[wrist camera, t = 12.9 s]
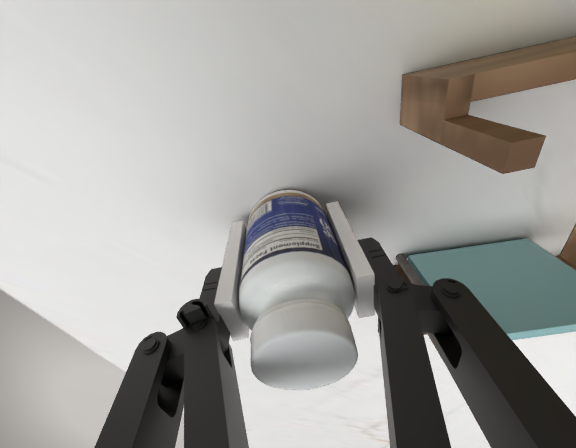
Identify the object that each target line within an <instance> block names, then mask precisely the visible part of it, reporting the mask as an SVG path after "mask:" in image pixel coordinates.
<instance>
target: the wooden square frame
mask: <svg viewBox="0 0 576 448" xmlns="http://www.w3.org/2000/svg"><path fill="white" fill-rule="evenodd" d="M575 79H576V36H575V37H570V38H566V39H561V40H557V41H552V42H547V43H543V44H538V45H534V46H529V47H525V48H520V49H516V50H511V51H507V52H502V53H498V54H493V55H489V56H484V57H480V58H475V59H471V60H466V61H462V62H457V63H453V64H448V65H444V66H439V67H435V68H430V69H426V70H421V71H417V72H412V73H408V74H403V75H402V92H401V112H400V125H402V126H404V127H406V128H408V129H410V130H412V131H414V132H416V133H418V134H420V135H422V136H425V137H427V138H429V139H431V140H433V141H435V142H437V143H439V144H441V145H443V146H446V147H448V148H450V149H452V150H454V151H456V152H458V153H460V154H462V155H464V156H466V157H469V158H471V159H473V160H475V161H477V162H479V163H481V164H483V165H485V166H487V167H489V168H492V169H494V170H496V171H498V172H500V173H502V174H505V173H509V172H514V171H519V170H524V169H529V168H534V167H535V165H536V162H537V159H538V157H539V154H540V151H541V148H542V145H543V143H544V140H545V137H546V136H544V135H541V134H537V133H533V132H529V131H526V130H522V129H518V128H515V127H511V126H507V125H503V124H500V123H496V122H492V121H488V120H485V119H481V118H477V117H474V116H470V115H468V111H469V106H470V102H472V101H477V100H482V99H486V98H491V97H495V96H500V95H505V94H509V93H514V92H519V91H523V90H528V89H533V88H537V87H542V86H547V85H551V84H556V83H561V82H565V81H570V80H575ZM556 258H558V259H559V260H561V261H562V262H564V263H565V264H567V265H568V266H570V267H571V268H573V269H574V270H576V225H575V227H574V229H573V231H572V233H571V235H570V237H569V239H568V241H567V243H566V245H565V247H564V249H563V250H562V252H561V254H560V256H557V257H556ZM396 260H397V261H398V263H399V264H400V265H395V266H394V268H395V270H396V271H397V273H398V274H399V276H400V277H402V278H405V279H406V280H407V281H408V282H409V283H411V284H415V285H424V284H423V283H422V281H421V280H420V278H419V277H418V276H417V274H416V273H415V271H414V270H413V269H412V267H411V266H410V264H409V263H408V261H407V260H406V259H405V257H404V256H403V255H402V254H399V255H397V256H396ZM425 334H428V333H425V332H423V335H425ZM428 336H429V337H430V335H429V334H428ZM430 339H431V337H430ZM431 341H432V339H431ZM432 343H433V341H432ZM433 344H434V343H433ZM434 346H435V345H434ZM435 348H436V346H435ZM436 349H437V348H436ZM437 351H438V350H437ZM438 353H439V352H438ZM440 356H441V355H440ZM441 358H442V357H441ZM442 360H443V359H442Z"/></svg>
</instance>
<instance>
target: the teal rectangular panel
mask: <svg viewBox="0 0 576 448" xmlns="http://www.w3.org/2000/svg"><path fill="white" fill-rule="evenodd" d="M408 263H409V264H410V266H411V267H412V269H413V270H414V271H415V273H416V274H417V276H418V277H419V278H420V280H421V281H422V283H423V284H424V286H433V283H434V282H435V281H436V280H439V279H442V278H450V279H454V280H457V281H459V282H461V283H463V284H464V285H465V286H467V287H468V288H469V290H470V291H471V292H472V293H473V294H474V296H475V297H476V298H477V299H478V300H479V302H480V303H481V304H482V305H483V306H484V308H485V309H486V310H487V311H488V312H489V314H490V315H491V316H492V317H493V318H494V320H495V321H496V322H497V323H498V324H499V326H500V327H501V328H502V329H503V330H504V332H505V333H506V334H507V335H508V336H509V338H510V339H511V340H517V339H524V338H531V337H538V336H545V335H553V334H560V333H567V332H574V331H576V270H574V269H573V268H571V267H570V266H568V265H567V264H565V263H564V262H562V261H561V260H559V259H558V258H556V257H555V256H553V255H552V254H551V253H549V252H548V251H546V250H545V249H543V248H542V247H540V246H539V245H537V244H536V243H534V242H533V241H531V240H530V239H528V238H526V239H519V240H512V241H505V242H498V243H491V244H484V245H477V246H470V247H463V248H456V249H449V250H442V251H435V252H428V253H421V254H415V255H408Z"/></svg>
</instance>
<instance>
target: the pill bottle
mask: <svg viewBox="0 0 576 448" xmlns="http://www.w3.org/2000/svg"><path fill="white" fill-rule="evenodd" d="M354 302H355V291H354V286H353V283H352V280H351V277H350V274H349V271H348V269H347V267H346V264H345V262H344V259H343V256H342V254H341V252H340V249H339V246H338V244H337V241H336V239H335V236H334V234H333V231H332V228H331V226H330V223H329V221H328V218H327V216H326V214H325V212H324V210H323V208H322V206H321V205H320V203H319V202H318V201H317V200H316V199H315V198H313V197H312V196H310V195H309V194H306V193H304V192H301V191H297V190H281V191H277V192H274V193H271V194H269V195H267V196H265V197H264V198H262V199H261V200H260V201H259V202H258V203H257V204H256V205H255V206H254V208H253V209H252V211H251V213H250V216H249V219H248V224H247V231H246V239H245V248H244V257H243V265H242V274H241V281H240V288H239V308H240V312H241V315H242V318H243V320H244V322H245V323H246V324H247V326H248V327H249V328H250V329H251V330H252V333H251V338H250V341H251V368H252V372H253V374H254V375H255V376H256V378H257V379H258V380H260V381H261V382H263V383H264V384H266V385H269V386H271V387H274V388H279V389H285V390H310V389H315V388H319V387H322V386H326V385H329V384H331V383H333V382H336V381H338V380H340V379H341V378H343V377H344V376H346V375H347V374H348V373H349V372H350V371H351V370H352V369H353V367H354V366H355V364H356V361H357V357H358V353H357V348H356V344H355V340H354V337H353V333H352V330H351V326H350V324H349V321H348V318H349V316H350V314H351V312H352V310H353V306H354Z"/></svg>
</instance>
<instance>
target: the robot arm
mask: <svg viewBox="0 0 576 448" xmlns="http://www.w3.org/2000/svg"><path fill="white" fill-rule="evenodd" d="M326 209H327V217H328V221H329V223H330V226H331V228H332V231H333V234H334V236H335V239H336V241H337V244H338V246H339V249H340V252H341V254H342V256H343V259H344V262H345V264H346V267H347V269H348V271H349V274H350V277H351V280H352V283H353V286H354V291H355V302H354V306H355V309H356V311H357V314H358V317H359V318H362V317H367V316H373V315H375V310H376V312H377V315H378V332H379V336H380V346H381V357H382V367H383V377H384V388H385V398H386V408H387V418H388V429H389V439H390V448H451V445H450V441H449V437H448V433H447V429H446V425H445V421H444V417H443V413H442V409H441V405H440V401H439V397H438V393H437V389H436V384H435V380H434V376H433V372H432V368H431V364H430V360H429V356H428V352H427V348H426V344H425V340H424V336H423V332H425V333H428V334H429V335H430V337H431V339H432V341H433V343H434V345H435V346H436V348H437V350H438V352H439V354H440V355H441V357H442V359H443V361H444V363H445V365H446V366H447V368H448V370H449V372H450V374H451V375H452V377H453V379H454V381H455V383H456V384H457V386H458V388H459V390H460V392H461V394H462V395H463V397H464V399H465V401H466V403H467V404H468V406H469V408H470V410H471V412H472V413H473V415H474V417H475V419H476V421H477V423H478V424H479V426H480V428H481V430H482V432H483V433H484V435H485V437H486V439H487V441H488V442H489V444H490V446H491V448H576V417H575V416H574V414H573V413H572V412H571V411H570V410H569V408H568V407H567V406H566V405H565V404H564V402H563V401H562V400H561V399H560V398H559V396H558V395H557V394H556V393H555V392H554V390H553V389H552V388H551V387H550V386H549V384H548V383H547V382H546V381H545V380H544V378H543V377H542V376H541V375H540V374H539V372H538V371H537V370H536V369H535V368H534V366H533V365H532V364H531V363H530V362H529V360H528V359H527V358H526V357H525V356H524V354H523V353H522V352H521V351H520V350H519V348H518V347H517V346H516V345H515V344H514V342H513V341H512V340H511V339H510V338H509V336H508V335H507V334H506V333H505V332H504V330H503V329H502V328H501V327H500V326H499V324H498V323H497V322H496V321H495V320H494V318H493V317H492V316H491V315H490V314H489V312H488V311H487V310H486V309H485V308H484V306H483V305H482V304H481V303H480V302H479V300H478V299H477V298H476V297H475V296H474V294H473V293H472V292H471V291H470V290H469V288H468V287H467V286H465V285H464V284H463V283H461V282H459V281H457V280H454V279H450V278H442V279H439V280H436V281H435V282H434V283H433V286H424V285H415V284H411V283H409V282H408V281H407V280H406V279H405V278H402V277H400V276H399V274H398V273H397V271H396V270H395V268H394V266H393V265H392V263H391V262H390V260H389V258H388V257H387V256H386V253H385V252H384V250H383V249H382V247H381V245H380V244H379V242H377V241H376V240H374V239H373V238H367V239H361V240H357V239H356V237H355V235H354V233H353V231H352V229H351V227H350V225H349V223H348V221H347V219H346V217H345V215H344V213H343V211H342V209H341V207H340V205H339V203H338V201H336V202H331V203H326ZM246 231H247V230H246V227H245V225H244V222H243V220H242V221H237V222H232V223H231V228H230V233H229V237H228V242H227V246H226V251H225V256H224V260H223V265H222V267H221V268H216V269H211V270H210V272H209V273H208V274H207V276H206V278H205V281H204V285H203V288H202V292H201V295H200V299H194V300H191V301H189V302H187V303H186V304H184V305H183V306H182V307H181V308H180V310H179V311H178V313H177V319H178V320H179V322H180V323H181V325H182V326H183V329H181V330H179V331H177V332H175V333H173V334H170V335H168V336H166V335H165V334H164V333H162V332H155V333H152V334H150V335H149V336H147V337H146V338H144V339H143V340H142V341H141V342H140V343H139V345H138V347H137V348H136V350H135V353H134V355H133V358H132V360H131V362H130V365H129V367H128V369H127V372H126V374H125V377H124V379H123V381H122V384H121V386H120V388H119V391H118V393H117V396H116V398H115V400H114V403H113V405H112V408H111V410H110V412H109V414H108V417H107V419H106V422H105V424H104V426H103V429H102V431H101V434H100V436H99V438H98V441H97V443H96V446H95V448H175V444H176V440H177V435H178V430H179V426H180V421H181V416H182V412H183V407H184V448H249V446H248V440H247V435H246V429H245V423H244V417H243V412H242V406H241V400H240V394H239V389H238V383H237V377H236V371H235V366H234V360H233V354H232V349H231V347H230V345H229V338H230V335H231V337H232V339H233V341H235V340H241V339H246V338H249V327H248V326H247V324H246V323H245V322H244V320H243V318H242V315H241V312H240V308H239V288H240V281H241V274H242V265H243V257H244V248H245V239H246Z"/></svg>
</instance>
